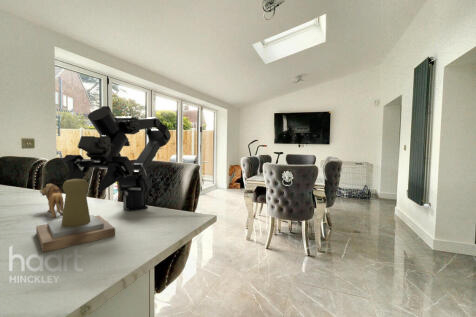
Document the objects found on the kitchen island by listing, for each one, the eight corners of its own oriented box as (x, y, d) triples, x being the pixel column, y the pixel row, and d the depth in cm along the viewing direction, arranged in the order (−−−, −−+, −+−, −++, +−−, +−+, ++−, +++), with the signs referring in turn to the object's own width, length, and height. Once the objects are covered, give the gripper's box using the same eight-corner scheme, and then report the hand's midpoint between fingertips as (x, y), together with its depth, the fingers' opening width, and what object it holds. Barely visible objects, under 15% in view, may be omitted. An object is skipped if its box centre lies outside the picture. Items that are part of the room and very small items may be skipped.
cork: (91, 224, 59) (91, 180, 58) (61, 228, 55) (60, 181, 55) (89, 217, 64) (89, 177, 63) (61, 221, 60) (60, 178, 60)
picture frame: (99, 222, 70) (98, 211, 69) (115, 235, 60) (115, 224, 59) (36, 233, 60) (36, 222, 60) (43, 252, 50) (42, 238, 50)
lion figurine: (39, 210, 80) (38, 183, 80) (58, 207, 84) (57, 182, 84) (53, 219, 71) (52, 189, 71) (74, 215, 75) (73, 187, 75)
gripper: (67, 125, 67) (28, 169, 57) (128, 126, 64) (99, 172, 54) (88, 152, 75) (58, 194, 65) (143, 154, 73) (121, 198, 62)
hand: (83, 190), depth 61 cm, fingers open, 9 cm apart
